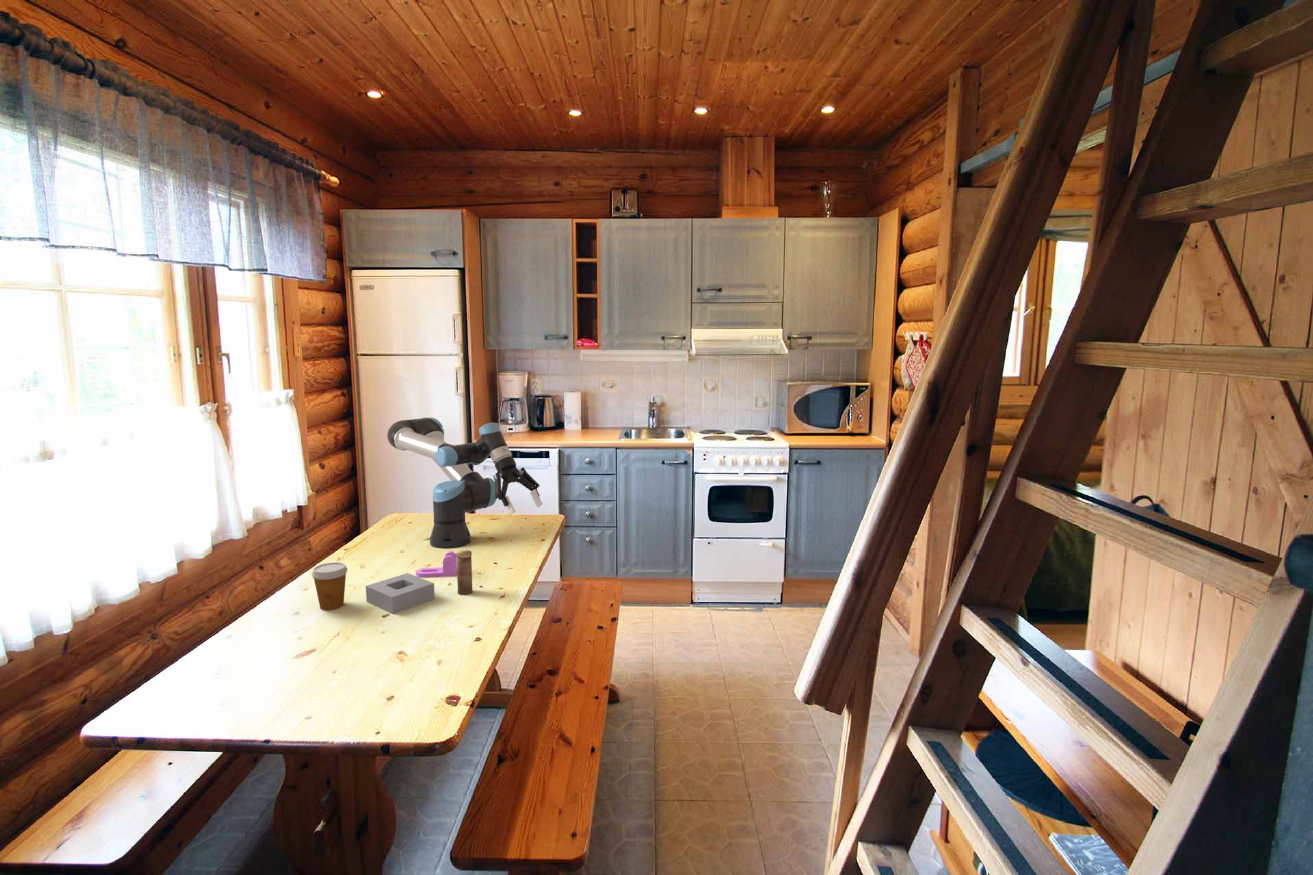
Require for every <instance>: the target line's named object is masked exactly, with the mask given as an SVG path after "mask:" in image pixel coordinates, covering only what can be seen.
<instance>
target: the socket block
mask: <svg viewBox="0 0 1313 875" xmlns="http://www.w3.org/2000/svg"><path fill="white" fill-rule="evenodd" d="M365 595H366V596H365V598H366V603H368V604H370V605H373V606H375V607H377V608H380V609H381V610H384V611H385V612H388V613H391V614H393V615H394V614H396V613H399V612H401V611H402V612H403V611H404V610H407V609H410V608H414V607H417V606H418V605H421V604H424V603H427V602H430V601H432V600H435V599H436V597H435V595H436V594H435V583H434V582H432V581H429V580H426V579H424V578H421V577H417V576H416V575H414V574H412V573H408V572H406V573H404V574H400V575H396V576H394V577H391V578H388V579H384V580H380V581H378V582H374V583H371V584H368V585H365Z"/></svg>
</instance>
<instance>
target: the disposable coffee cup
mask: <svg viewBox="0 0 1313 875" xmlns="http://www.w3.org/2000/svg"><path fill="white" fill-rule="evenodd" d="M347 573H348V567H347V565H346V564H345V563H343V562H336V561H335V562H326V563H322V564H321V563H320V564H319V565H316V566H314V567H313V568H312V572H311V576H312V578H313V579H314V580H313V581H314V586H315V591H316V595H317V600H318V604H319V609H320V610H323V611H334V610H336V609H340V608H343V606H344V602H345V590H346V580H347V579H346V578H347V577H346V576H347Z"/></svg>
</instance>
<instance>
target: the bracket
mask: <svg viewBox="0 0 1313 875" xmlns="http://www.w3.org/2000/svg"><path fill="white" fill-rule="evenodd" d="M456 574H457V557H456V553H455V551H448V552H446V553H445V555H444V558H443V560H442V567H439V566H438V567H424V568H418V569H417V570H415V576H417V577H419V578H422V579H424V578H440V577H441V578H442V577H455V576H456Z"/></svg>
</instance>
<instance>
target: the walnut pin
mask: <svg viewBox="0 0 1313 875" xmlns="http://www.w3.org/2000/svg"><path fill="white" fill-rule="evenodd" d="M472 553H473V552H472V551H471V550H469V549H468V550H467V549H466V550H465V549H464V550H463V549H462V550H459V551H457V552H456V553H455V554H456V557H457V571H456V574H457V575H456V578H457V595H460V596H467V595H471V594H472V593H473V567H472V564H473V561H472Z"/></svg>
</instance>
